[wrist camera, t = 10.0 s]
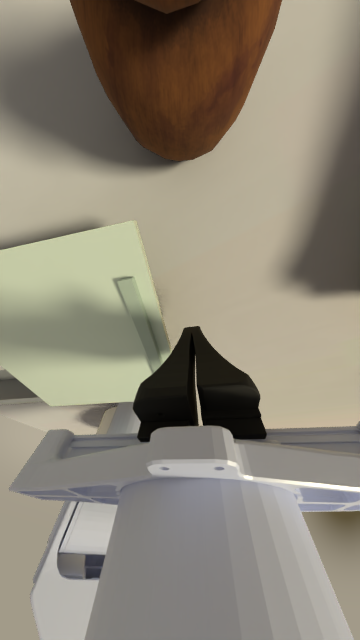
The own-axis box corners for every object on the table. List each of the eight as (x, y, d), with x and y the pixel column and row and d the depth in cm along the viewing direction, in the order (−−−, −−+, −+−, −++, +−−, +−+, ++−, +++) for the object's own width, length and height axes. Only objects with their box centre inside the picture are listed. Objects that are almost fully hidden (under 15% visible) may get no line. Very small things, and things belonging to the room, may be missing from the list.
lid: (183, 393, 18) (183, 403, 17) (54, 402, 20) (47, 411, 19) (136, 221, 8) (129, 219, 7) (-96, 272, 11) (-126, 277, 10)
